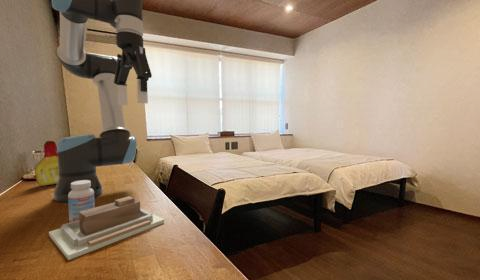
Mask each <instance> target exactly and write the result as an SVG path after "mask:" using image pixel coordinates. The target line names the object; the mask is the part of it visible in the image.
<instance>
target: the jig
mask: <svg viewBox="0 0 480 280" xmlns="http://www.w3.org/2000/svg"><path fill="white" fill-rule="evenodd" d="M140 213H141V217H140V218H137V219H134V220H131V221H128V222H125V223H122V224H120V225H117V226H114V227H111V228H108V229H105V230H102V231H99V232H96V233H93V234H90V235H87V236H85V235H84V234H83V233H81V232H80V221H79V220H77V221H73V222H66V223H64V224H63V223H62V225H61V226H60V228H57V229H54V230H50V231H48V236H49V237H50V239H51V240H52V241H53V242H54V244H55V246H56V247H58V249H59V251H61V253H62V254H63V256H65V258H66V259H67V260H68V261H70V260H73V259H75V258H78V257H81V256H83V255H85V254H88V253H90V252H93V251H96V250H98V249H100V248H103V247H106V246H108V245H111V244H113V243H115V242H116V243H117V242H119V241H122V240H123V239H126V238H129V237H131V236H134V235H136V234H137V235H138V234H139V233H142V232H143V231H146V230H149V229H152V228H155V227H156V226H160V225H162V224H165V218H163V217H161V216H158V215H157V214H154V213H152V212H150V211H148V210H146V209H145V208H142V207H140Z"/></svg>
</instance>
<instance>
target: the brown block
mask: <svg viewBox="0 0 480 280" xmlns="http://www.w3.org/2000/svg"><path fill="white" fill-rule="evenodd" d="M140 208H141V201H139V200H137V199H135V198H134V197H132V196H130V195H129V196H125V197H121V198H118V199H115V200H114V202H111V203H108V204H103V205H99V206H95V208H91V209H87V210H84V211H80V212H79V221H80V232H81V233H83V234H84V235H85V236H87V235H90V234H93V233H96V232H99V231H102V230H105V229H108V228H111V227H114V226H117V225H120V224H122V223H125V222H128V221H131V220H134V219H137V218H140V217H141V213H140Z"/></svg>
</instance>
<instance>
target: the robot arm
mask: <svg viewBox="0 0 480 280" xmlns="http://www.w3.org/2000/svg"><path fill="white" fill-rule="evenodd" d="M51 7H52V9H53V10H55V11H58V12H59V46H57V49H56V57H57V59H58V62H59V63H60V65H61V66H62V67H63V68H64V69H65V70H66V71H67V72H69V73H70V74H72V75H74V76H76V77H77V78H82V79H91V80H92V81H93V85H95V86H97V92H98V93H97V94H98V101H99V106H100V109H99V110H100V115H101V124H102V125H101V126H102V131H101V132H100V133H99V137H96V136H95V134H93V133H92V134H90V133H89V134H81V135H80V134H79V135H73V136H67V137H61V138H60V139H58V141H57V142H56V146H57V153H58V168H59V180H58V183H57V184H56V187H55V189H54V192H53V200H54V201H55V202H63V203H65V202H67V203H68V194H69V192H70V191H72V189H71V183H72V182H75V181H80V180H90V181H91V187H90V188H91V189H93V190H94V198H95V197H98V196H99V195H101V194H102V193H103V186H102V183H101V181H100V179H99V177H98V174H97V167H107V166H116V165H117V166H119V165H125V164H131V163H133V161H134V160H135V158H136V154H137V139H136V137H135V136H133V135H132V136H131V132H130V130H128V129H127V128H126V123H125V117H124V110H123V106H128V84H127V80H128V78H129V75H130V71H131V70H132V69H133V70H134V72H135V74H136V88H137V90H136V92H137V96H136V97H137V104H148V101H149V100H148V99H149V98H148V97H149V96H148V81H149V79H151V78H152V77H153V74H152V72H151V69H150V68H151V67H150V65H149V64H150V63H149V62H148V57H147V54H146V48H145V47H144V38H143V36H144V22H143V0H51ZM89 20H94V21H98V22H102V23H106V24H109V25H110V26H111V27H112V28H113V29H115V32H116V34H115V37H116V38H115V39H116V41H115V42H116V46H117V47H118V48H119V49H121V53H117V55H116V56H114V55H113V56H112V55H105V54H99V53H96V52H95V53H94V52H88V51H85V46H86V38H87V31H88V25H89Z"/></svg>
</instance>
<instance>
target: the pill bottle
mask: <svg viewBox="0 0 480 280" xmlns="http://www.w3.org/2000/svg"><path fill="white" fill-rule="evenodd" d="M90 187H91V181H90V180H80V181H75V182H72V183H71V189H72V191H70V192H69V194H68V202H67V203H68V204H67V205H68V206H67V207H68V223H70V222H73V221H77V220H79V212H80V211H84V210H87V209H91V208H95V207H96V206H95V197H94V190H93V189H91V188H90Z"/></svg>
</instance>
